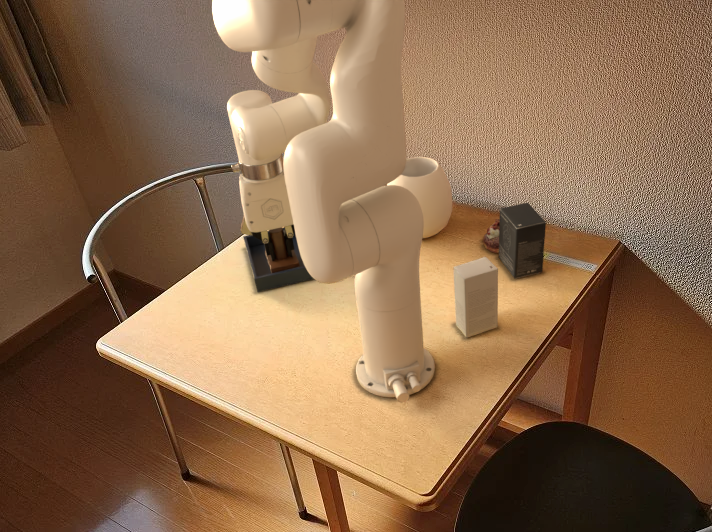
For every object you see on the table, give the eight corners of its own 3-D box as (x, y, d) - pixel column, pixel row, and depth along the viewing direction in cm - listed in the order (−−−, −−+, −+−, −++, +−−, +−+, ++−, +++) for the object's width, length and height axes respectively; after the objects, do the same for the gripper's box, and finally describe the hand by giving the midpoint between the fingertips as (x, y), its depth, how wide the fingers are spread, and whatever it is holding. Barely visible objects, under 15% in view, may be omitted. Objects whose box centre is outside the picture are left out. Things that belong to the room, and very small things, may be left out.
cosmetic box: (486, 314, 127) (486, 255, 118) (498, 328, 124) (499, 268, 115) (454, 325, 125) (452, 266, 117) (465, 339, 122) (464, 279, 114)
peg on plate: (301, 274, 140) (293, 235, 134) (273, 281, 139) (264, 241, 134) (294, 256, 145) (286, 217, 140) (267, 263, 145) (258, 224, 139)
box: (543, 272, 134) (546, 221, 127) (513, 279, 133) (516, 228, 126) (525, 251, 140) (528, 201, 132) (497, 257, 139) (498, 207, 132)
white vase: (403, 208, 156) (399, 147, 147) (462, 217, 151) (461, 155, 142) (377, 240, 148) (370, 178, 139) (438, 250, 143) (435, 187, 134)
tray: (320, 277, 140) (318, 264, 138) (257, 292, 138) (254, 279, 136) (304, 236, 152) (301, 223, 150) (246, 249, 150) (242, 236, 148)
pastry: (475, 239, 144) (475, 217, 141) (509, 228, 146) (510, 206, 142) (496, 259, 138) (497, 236, 135) (531, 247, 140) (532, 224, 137)
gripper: (218, 184, 125) (242, 275, 137) (311, 165, 127) (326, 255, 139) (214, 166, 130) (237, 254, 142) (303, 147, 132) (318, 236, 144)
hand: (281, 254), depth 141 cm, fingers closed on peg on plate, 2 cm apart
